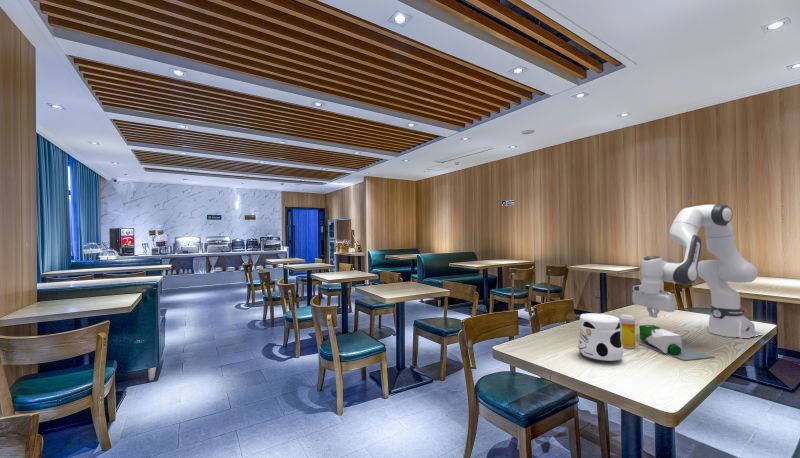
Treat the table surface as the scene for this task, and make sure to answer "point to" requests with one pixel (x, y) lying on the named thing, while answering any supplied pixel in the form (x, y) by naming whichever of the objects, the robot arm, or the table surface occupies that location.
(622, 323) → the beer can
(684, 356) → the mat
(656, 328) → the white carton
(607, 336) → the milk container
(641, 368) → the table surface
